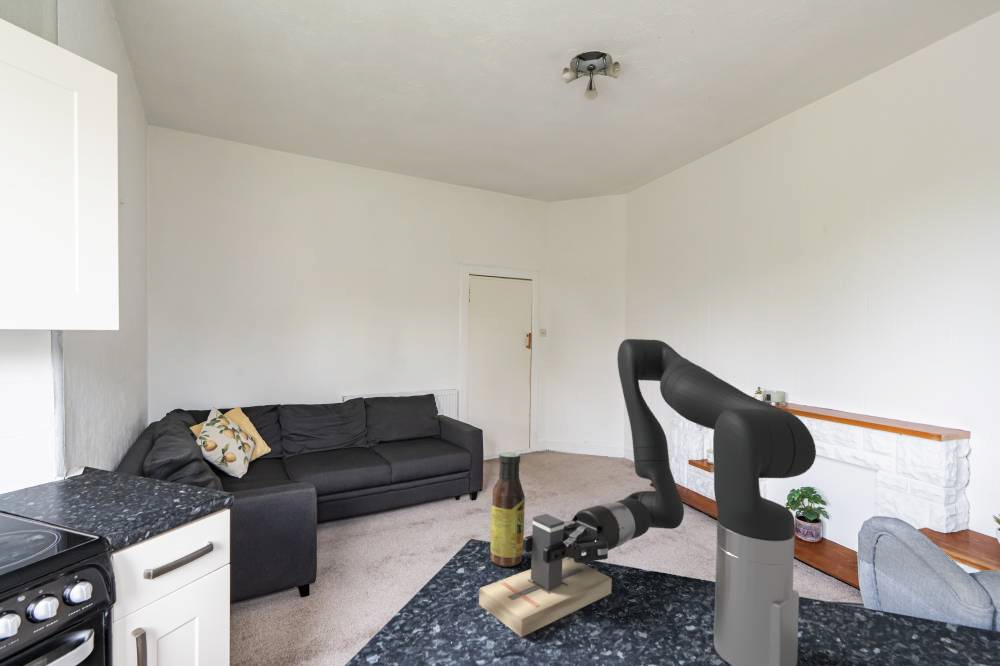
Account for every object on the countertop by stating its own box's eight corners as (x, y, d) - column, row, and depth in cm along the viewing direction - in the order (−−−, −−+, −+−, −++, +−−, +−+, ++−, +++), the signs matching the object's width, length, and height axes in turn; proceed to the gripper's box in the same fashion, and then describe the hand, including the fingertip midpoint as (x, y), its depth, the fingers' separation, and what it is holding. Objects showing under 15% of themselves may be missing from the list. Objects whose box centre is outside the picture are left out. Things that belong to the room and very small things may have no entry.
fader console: (611, 593, 78) (611, 577, 78) (521, 637, 65) (521, 618, 65) (566, 569, 85) (567, 555, 86) (478, 604, 73) (479, 587, 73)
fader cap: (561, 584, 74) (563, 521, 75) (548, 590, 73) (550, 525, 73) (544, 574, 78) (546, 513, 78) (530, 579, 76) (532, 517, 76)
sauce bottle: (523, 569, 85) (527, 459, 85) (488, 567, 85) (493, 458, 85) (522, 553, 91) (526, 451, 92) (490, 551, 91) (494, 450, 92)
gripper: (575, 494, 90) (506, 512, 79) (638, 518, 79) (568, 542, 68) (573, 534, 90) (504, 557, 79) (637, 563, 79) (566, 594, 68)
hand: (534, 550), depth 73 cm, fingers closed on fader cap, 4 cm apart
